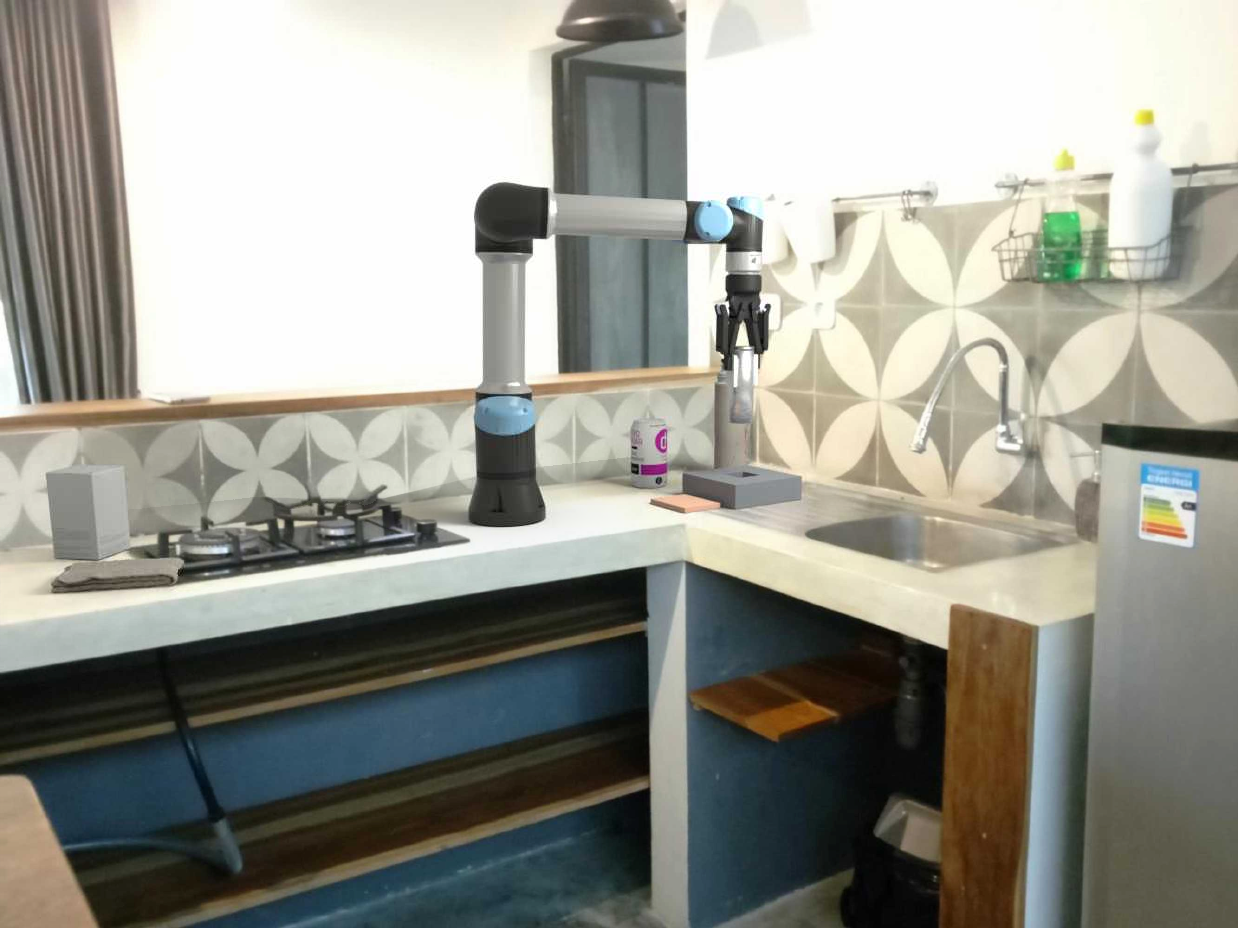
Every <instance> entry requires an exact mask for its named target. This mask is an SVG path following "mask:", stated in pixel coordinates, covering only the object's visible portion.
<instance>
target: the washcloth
mask: <svg viewBox="0 0 1238 928" xmlns="http://www.w3.org/2000/svg"><path fill="white" fill-rule="evenodd" d="M184 563H185V560H184V559H182V558H180V557H160V558H131V559H129V558H127V559H115V560H103V561H102V560H92V561H83V562H82V561H79V562H75V563H74V562H73V563H72V564H71V565H69V566H65V567H64V568H63V570H64V571H63V572H62V573H61V574H59V575H58V576H56V577H55V579H53V580H52V581H51V582H50V585H51V587H52V588H51V589H50V590H51V593H53V594H71V593H72V594H75V593H95V592H112V591H124V590H127V591H128V590H138V589H143V590H144V589H156V588H168V587H172V586H174V585H175V584H177V581H178V578H179V576H178V574H177V573H178V569H180V568H181V567H182V565H183V564H184Z"/></svg>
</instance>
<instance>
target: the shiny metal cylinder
mask: <svg viewBox="0 0 1238 928" xmlns="http://www.w3.org/2000/svg"><path fill="white" fill-rule="evenodd" d="M733 355H737V387H730V398H729V423H735V424H748V425H749V424H753V423H754V346H749V345H736V347H735V351H734V354H733Z"/></svg>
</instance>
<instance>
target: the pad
mask: <svg viewBox="0 0 1238 928" xmlns="http://www.w3.org/2000/svg"><path fill="white" fill-rule="evenodd" d="M651 504H652V505H654V506H657V507H662V508H665V509H668V510H672V511H676V512H680V513H683V514H689V513H695V512H701V511H708V510H715V509H721V506H720V503H718V502H714V501H710V500H706V499H702V498H698V497H695V496H691V495H687V494H677V495H676V494H674V495H668V496H663V497H661V496H660V497H654V498H653V497H652V498H650V505H651Z"/></svg>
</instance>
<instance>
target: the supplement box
mask: <svg viewBox="0 0 1238 928" xmlns="http://www.w3.org/2000/svg"><path fill="white" fill-rule="evenodd" d="M125 479H126V477H125V466H124V465H111V464H110V465H109V464H108V465H107V464H106V465H105V464H104V465H102V464H100V465H99V464H76V465H75V464H74V465H72V466H71V465H70V466H67V467H64V468H59V469H55V470H50V471H47V472H45V480H46V488H47V489H46V491H47V498H48V508H49V518H50V528H51V538H52V549H53V557H54V559H61V560H62V559H63V560H64V559H67V560H88V561H89V560H90V561H91V560H92V561H101V560H102V559H104V558H108V557H110V556H114V555H117V554H119V553H121V552H124V551H127V550H130V549H131V548H132V546H131V545H132V544H131V535H130V523H129V513H128V512H129V511H128V500H127V488H126V480H125Z"/></svg>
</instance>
